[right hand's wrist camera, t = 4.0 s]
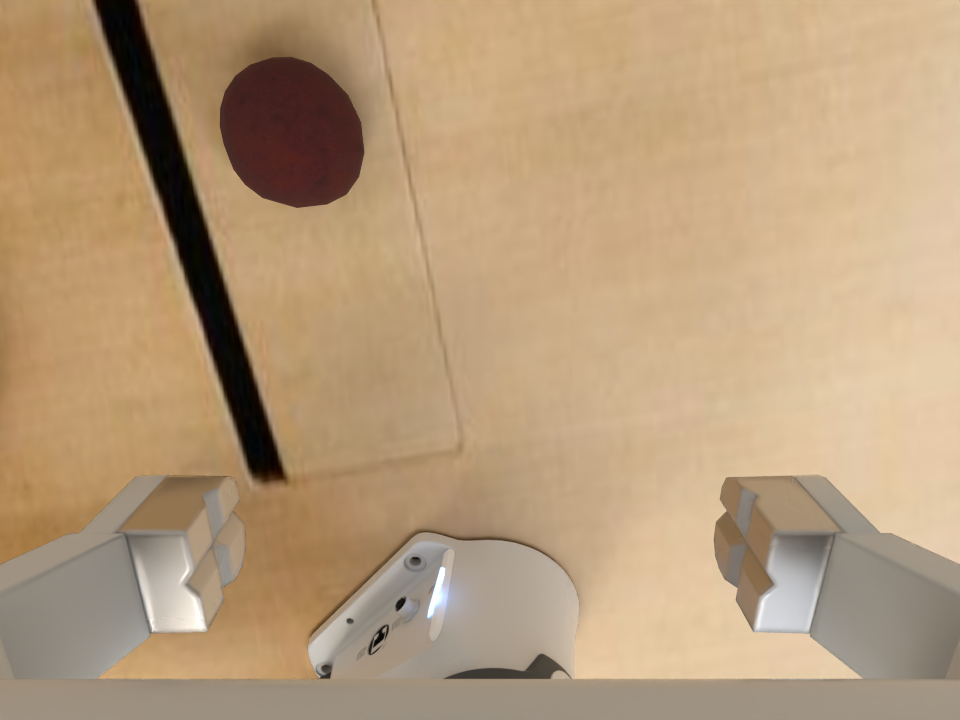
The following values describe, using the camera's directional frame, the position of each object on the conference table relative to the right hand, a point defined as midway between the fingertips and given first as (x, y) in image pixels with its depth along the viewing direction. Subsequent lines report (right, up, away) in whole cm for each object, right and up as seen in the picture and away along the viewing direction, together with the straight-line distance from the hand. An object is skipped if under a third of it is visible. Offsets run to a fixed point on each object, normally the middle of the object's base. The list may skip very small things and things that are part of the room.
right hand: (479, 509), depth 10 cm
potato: (-10, +16, +26) cm, 32 cm away
